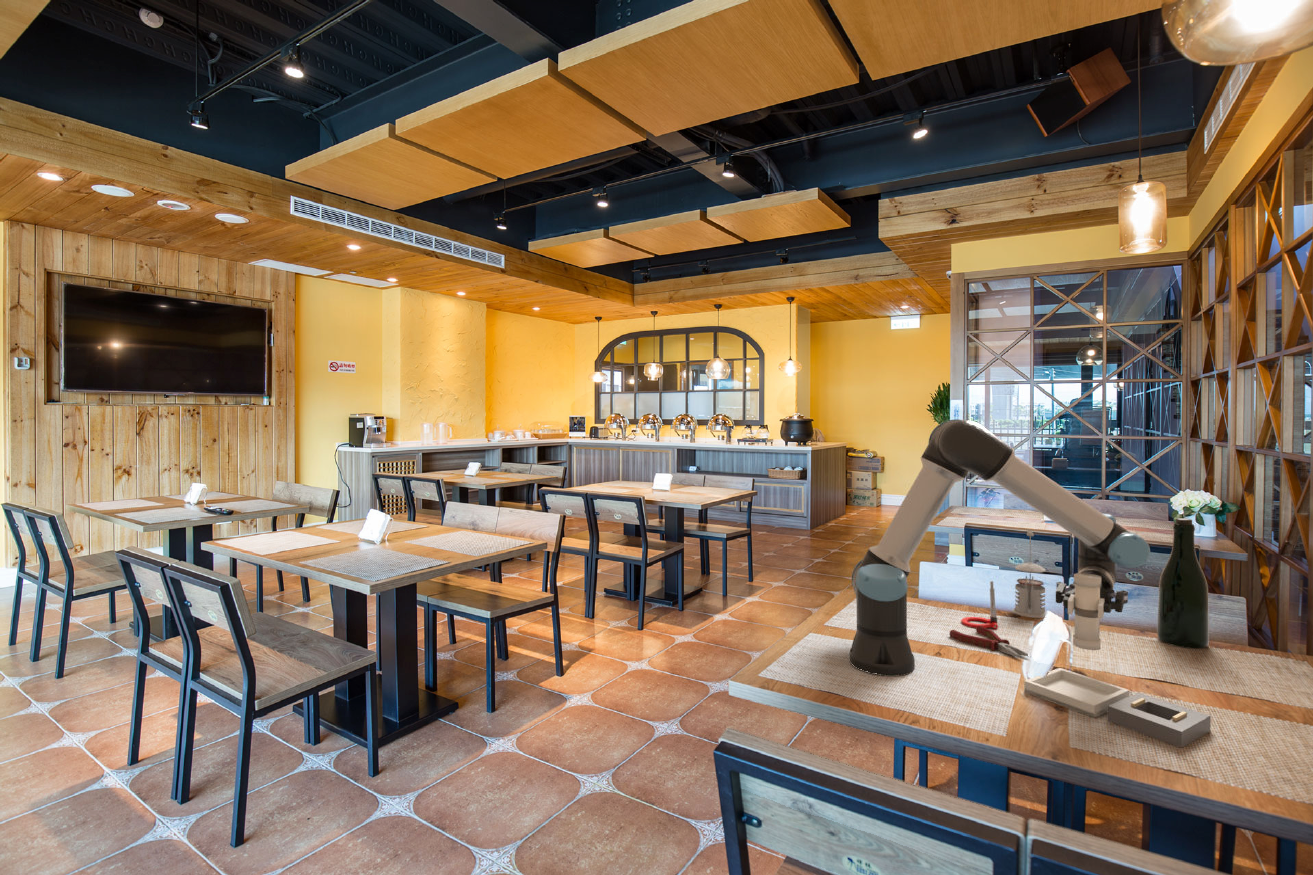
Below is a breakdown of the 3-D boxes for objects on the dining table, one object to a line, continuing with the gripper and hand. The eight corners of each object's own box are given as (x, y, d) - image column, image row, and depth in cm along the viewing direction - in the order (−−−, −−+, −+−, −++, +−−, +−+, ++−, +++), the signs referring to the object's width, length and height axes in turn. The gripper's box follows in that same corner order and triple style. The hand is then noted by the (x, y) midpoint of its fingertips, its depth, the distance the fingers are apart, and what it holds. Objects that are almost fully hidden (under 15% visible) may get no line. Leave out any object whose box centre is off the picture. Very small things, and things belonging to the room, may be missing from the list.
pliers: (1008, 664, 155) (1008, 654, 155) (947, 638, 174) (947, 628, 174) (1043, 658, 158) (1043, 648, 158) (980, 633, 178) (980, 624, 178)
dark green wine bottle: (1191, 636, 171) (1193, 515, 170) (1219, 650, 161) (1220, 522, 160) (1148, 634, 173) (1149, 515, 172) (1172, 648, 163) (1174, 521, 162)
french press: (1048, 610, 195) (1049, 530, 195) (1048, 621, 185) (1048, 536, 185) (1012, 606, 201) (1012, 528, 200) (1010, 616, 191) (1010, 534, 190)
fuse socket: (1181, 747, 115) (1181, 728, 115) (1107, 720, 125) (1108, 702, 125) (1210, 730, 121) (1210, 712, 120) (1137, 706, 131) (1138, 689, 131)
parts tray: (1094, 717, 126) (1094, 705, 126) (1024, 691, 139) (1024, 680, 138) (1129, 701, 133) (1129, 689, 133) (1059, 678, 145) (1059, 667, 145)
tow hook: (962, 628, 182) (998, 630, 178) (960, 583, 182) (996, 585, 178) (960, 619, 190) (995, 621, 186) (958, 577, 190) (993, 578, 186)
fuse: (1092, 651, 130) (1093, 579, 130) (1068, 644, 135) (1069, 574, 134) (1105, 647, 133) (1106, 576, 132) (1080, 640, 137) (1081, 571, 136)
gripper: (1140, 608, 142) (1138, 636, 124) (1049, 595, 153) (1035, 619, 135) (1140, 575, 142) (1138, 599, 124) (1049, 564, 153) (1035, 585, 135)
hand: (1084, 609), depth 129 cm, fingers closed on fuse, 4 cm apart
